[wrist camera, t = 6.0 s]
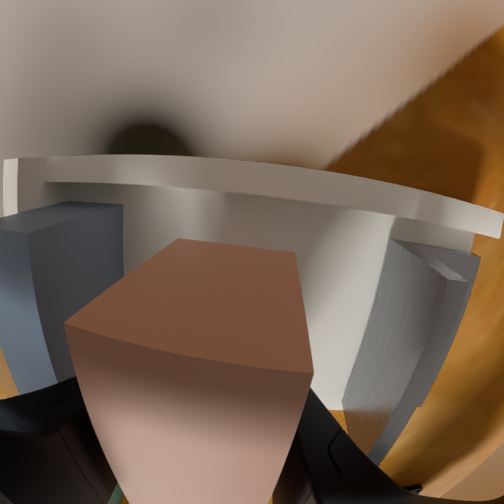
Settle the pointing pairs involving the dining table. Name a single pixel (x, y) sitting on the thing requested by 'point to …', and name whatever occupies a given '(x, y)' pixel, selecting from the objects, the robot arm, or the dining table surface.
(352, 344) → the shelf
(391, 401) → the bookend
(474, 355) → the dining table surface
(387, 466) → the dining table surface
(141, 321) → the book block
